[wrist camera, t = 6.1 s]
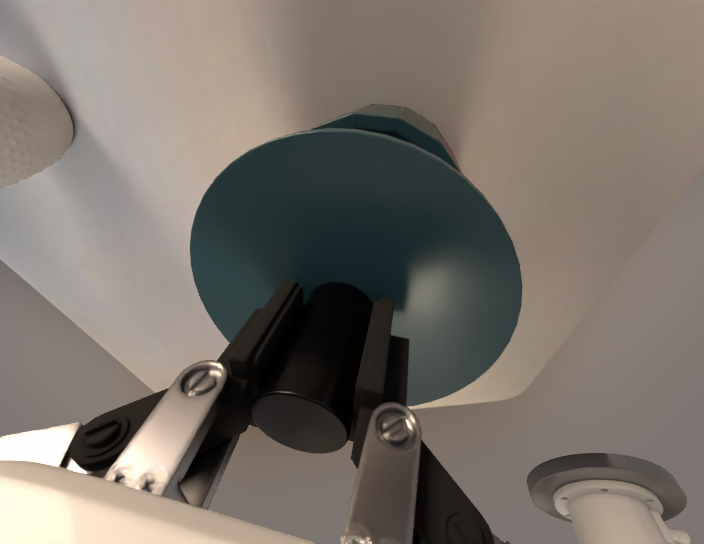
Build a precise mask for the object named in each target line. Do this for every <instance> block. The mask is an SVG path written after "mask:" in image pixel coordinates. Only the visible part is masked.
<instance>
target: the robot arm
mask: <svg viewBox="0 0 704 544" xmlns="http://www.w3.org/2000/svg"><path fill="white" fill-rule="evenodd" d="M394 304H395V300H390V299H385V298H381V300H380V301H374V306H373V310H372V315H371V319H370V323H369V328H368V332H367V337H366V341H365V346H364V350H363V355H362V359H361V364H360V368H359V373H358V377H357V382H356V388H355V394H354V401H353V408H352V412H353V419H352V424H351V429H350V434H349V438H348V440H350V441H354V443H353V450H352V456H351V459H352V461H353V462H354V464H355V466H356V468H357V469H358V470H357V474H356V478H355V482H354V486H353V491H352V494H351V498H350V502H349V507H348V511H347V514H346V519H345V523H344V527H343V531H342V535H341V539H340V543H339V544H510V543H509V542H508V541H507V542H506V543H504V542H503V541H501V540H500V539H499V538H498V537H496V536H495V535H494V534H493V533H492V532H491V530H490V528H489V526H488V524H487V523H486V521H485V519H484V518H483V516H482V515H481V514H480V512H479V511H478V510H477V509H476V507H475V506H474V505H473V504H472V503H471V501H470V500H469V499H468V497H467V496H466V495H465V494H464V492H463V491H462V490H461V489H460V488H459V486H458V485H457V484H456V482H455V481H454V480H453V479H452V477H451V476H450V475H449V474H448V472H447V471H446V470H445V469H444V467H443V466H442V465H441V464H440V462H439V461H438V460H437V459H436V457H435V456H434V455H433V454H432V452H431V451H430V450H429V449H428V447H427V446H426V445H425V444H424V442H423V441H422V440H421V435H422V433H421V426H420V423H419V420H418V418H417V417H416V415H415V414H414V413H413V412H412V411H411V410H410V409H409V408H408V407H406V401H407V381H408V361H409V339H408V338H403V337H398V336H393V335H391V327H392V319H393V311H394ZM302 309H303V287H301V286H299V283H298V282H295V281H289V280H283V281H282V282H281V284H280V285H279V287H278V288H277V289H276V291H275V292H274V294H273V295H272V296H271V298H270V299H269V301H268V302H267V303H266V305H265V306H264V307H263V309H261V308H258V309H256V310H255V311H254V312H253V313H252V315H251V316H250V317H249V319H248V320H247V321H246V323H245V324H244V325H243V327H242V328H241V329H240V331H239V332H238V333H237V335H236V336H235V337H234V339H233V340H232V341H231V343H230V344H229V345H228V347H227V348H226V349H225V351H224V352H223V353H222V355H221V356H220V357H219V359H218V360H217V361H214V360H205V361H200V362H197V363H195V364H192V365H190V366H189V367H187V368H186V369H184V370H183V371H182V372H181V374H180V375H179V376H178V377H177V378H176V380H175V381H174V382H173V384H172V385H171V387H170V388H168V389H165V390H163V391H160V392H158V393H155V394H153V395H150V396H147V397H145V398H142V399H140V400H137V401H135V402H132V403H129V404H127V405H124V406H122V407H119V408H117V409H114V410H112V411H109V412H106V413H104V414H102V415H100V416H98V417H96V418H94V419H93V420H91V421H90V422H89V423H87V424H86V425H82V423H80V422H79V423H73V424H68V425H63V426H57V427H52V428H47V429H42V430H36V431H31V432H25V433H20V434H14V435H9V436H4V437H0V544H317V543H314V542H311V541H308V540H304V539H301V538H298V537H295V536H291V535H288V534H285V533H282V532H279V531H275V530H272V529H269V528H265V527H262V526H259V525H255V524H252V523H249V522H246V521H242V520H239V519H236V518H232V517H229V516H226V515H223V514H219V513H216V512H213V511H209V510H208V508H209V506H210V504H211V501H212V499H213V497H214V494H215V492H216V490H217V487H218V485H219V482H220V481H221V478H222V476H223V474H224V471H225V469H226V467H227V464H228V462H229V460H230V457H231V455H232V453H233V451H234V448H235V446H236V444H237V441H238V439H239V436H240V434H241V433H243V432H245V431H246V430H247V427H248V426H249V425H251V426H255V427H258V426H257V425H256V424H255V422H254V420H253V418H252V416H251V404H252V402H253V400H254V398H255V396H256V394H257V392H258V390H259V389H260V387H261V385H262V383H263V381H264V379H265V377H266V376H267V374H268V372H269V370H270V368H271V366H272V364H273V363H274V361H275V359H276V357H277V355H278V353H279V351H280V350H281V348H282V346H283V344H284V342H285V340H286V338H287V337H288V335H289V333H290V331H291V329H292V327H293V325H294V324H295V322H296V320H297V318H298V316H299V314H300V312H301V311H302ZM553 502H554V505H555V508H556V510H557V511H558V512H559V513H560V514H561V515H563V516H565V517H566V518H568V519H570V520H572V523H573V525H574V528H575V531H576V534H577V537H578V540H579V543H580V544H690V538H689V536H688V534H687V533H686V532H684V531H681V530H677V529H673V528H668V527H667V526H666V525H665V524H664V521H663V520H662V518H661V515H662V513H663V506H662V504H661V503H660V501H659V499H658V498H657V496H656V495H655V494H654V493H652V492H651V491H649V490H647V489H645V488H643V487H641V486H638V485H635V484H632V483H627V482H623V481H616V480H583V481H578V482H573V483H570V484H566V485H564V486H562V487H560V488H559V489H557V490H556V491H555V493H554V494H553Z"/></svg>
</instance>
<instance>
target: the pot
mask: <svg viewBox="0 0 704 544" xmlns="http://www.w3.org/2000/svg"><path fill="white" fill-rule="evenodd" d="M325 128H341V129H359V130H364V131H370V132H375V133H380V134H385V135H389V136H391V137H394V138H397V139H400V140H403V141H406V142H409V143H412V144H414V145H416V146H418V147H420V148H422V149H424V150H426V151H428V152H430V153H432V154H434V155H436V156H437V157H439V158H441V159H442V160H444V161H445V162H446V163H448V164H449V165H451V166H452V167H453V168H455V169H456V170H458V171H459V172H460V173H462V172H461V169H460V167H459V165H458V163H457V161H456V159H455V157H454V155H453V153H452V151H451V149H450V148H449V146H448V145H447V143H446V141H445V140H444V138H443V137H442V135H441V133H440V132H439V130H438V129H437V127H436V126H435V125H434V124H433V123H431V122H430V121H428V120H426V119H425V118H424V117H422V116H421V115H419V114H417V113H415V112H414V111H412V110H410V109H409V108H406V107H399V106H393V105H380V104H372V105H369V106H367V107H364V108H361V109H358V110H356V111H353V112H350V113H347V114H344V115H342V116H340V117H337V118H335V119H333V120H330V121H328V122H325V123H323V124H321V125H318V126H316V127H314V128H312V129H311V130H316V129H325Z"/></svg>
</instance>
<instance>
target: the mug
mask: <svg viewBox="0 0 704 544" xmlns="http://www.w3.org/2000/svg"><path fill="white" fill-rule="evenodd" d="M72 139H73V124H72V120H71V117H70V115H69V112H68V110H67V108H66V107H65V105H64V103H63V102H62V100H61V99H60V97H59V96H58V95H57V93H56V92H55V91H54V90H53V89H52V88H51V87H50V86H49V85H48V84H47V83H46V82H45V81H44V80H42V79H41V78H40V77H39V76H37V75H36V74H34V73H33V72H31V71H29V70H28V69H26V68H24V67H22V66H20V65H18V64H16V63H14V62H12V61H10V60H8V59H7V58H4V57H2V56H0V188H1V187H4V186H6V185H11V184H14V183H17V182H18V181H20V180H22V179H26V178H28V177H31V176H32V175H33V174H35V173H38V172H41V171H42V170H43V169H45V168H46V167H49V166H50V165H52V164H53V163H54V162H55V161H57V160H58V159H60V157H61V156H62V155H63V154H64V153H65V152H66V150H67V149H68V147H69V146H70V144H71V142H72Z"/></svg>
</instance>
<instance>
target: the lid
mask: <svg viewBox="0 0 704 544" xmlns="http://www.w3.org/2000/svg"><path fill="white" fill-rule="evenodd" d="M190 257H191V267H192V272H193V277H194V281H195V284H196V287H197V290H198V293H199V296H200V298H201V300H202V302H203V304H204V306H205V308H206V311H207V312H208V314H209V315H210V317H211V319H212V320H213V322H214V324H215V325H216V326H217V328H218V329H219V330H220V332H221V333H222V334H223V335H224V337H225V338H226V339H227V340H228V341H229V342H230V343H231V341H232V340H233V339H234V337H235V336H236V335H237V333H238V332H239V331H240V329H241V328H242V327H243V325H244V324H245V323H246V321H247V320H248V319H249V317H250V316H251V315H252V313H253V312H254V311H255V310H256V309H258V308H261V309H263V307H264V306H265V305H266V303H267V302H268V301H269V299H270V298H271V296H272V295H273V294H274V292H275V291H276V289H277V288H278V287H279V285H280V284H281V282H282V281H283V280H289V281H295V282H298V283H299V286H301V287H303V309H302V311H301V312H300V314H299V316H298V318H297V320H296V322H295V324H294V325H293V327H292V329H291V331H290V333H289V335H288V337H287V338H286V340H285V342H284V344H283V346H282V348H281V350H280V351H279V353H278V355H277V357H276V359H275V361H274V363H273V364H272V366H271V368H270V370H269V372H268V374H267V376H266V377H265V379H264V381H263V383H262V385H261V387H260V389H259V390H258V392H257V394H256V396H255V398H254V400H253V402H252V404H251V416H252V418H253V420H254V422H255V424H256V425H257V426H258V427H259V429H261V430H262V431H263V432H264V433H265V434H266V435H267V436H269V437H270V438H272V439H273V440H275V441H277V442H279V443H281V444H283V445H285V446H287V447H290V448H293V449H296V450H300V451H304V452H309V453H330V452H334V451H337V450H339V449H341V448H342V447H343V446H344V445H345V444H346V443H347V441H348V438H349V434H350V429H351V424H352V419H353V412H352V408H353V401H354V394H355V388H356V382H357V377H358V373H359V368H360V364H361V359H362V355H363V350H364V346H365V341H366V337H367V332H368V328H369V323H370V319H371V315H372V310H373V306H374V301H380V300H381V298H385V299H390V300H395V304H394V311H393V319H392V327H391V335H393V336H398V337H403V338H408V339H409V361H408V381H407V401H406V407H407V406H414V405H419V404H423V403H427V402H431V401H434V400H437V399H440V398H443V397H446V396H448V395H450V394H452V393H454V392H456V391H458V390H460V389H462V388H464V387H465V386H467V385H468V384H470V383H472V382H473V381H475V380H476V379H477V378H478V377H480V376H481V375H482V374H483V373H484V372H486V371H487V370H488V369H489V368H490V367H491V366H492V365H493V363H494V362H495V361H496V360H497V359H498V358H499V357H500V355H501V354H502V352H503V351H504V349H505V348H506V346H507V345H508V343H509V341H510V339H511V337H512V334H513V332H514V330H515V327H516V325H517V321H518V317H519V313H520V309H521V299H522V280H521V272H520V264H519V261H518V258H517V255H516V252H515V248H514V245H513V242H512V240H511V238H510V236H509V234H508V232H507V230H506V228H505V226H504V225H503V223H502V221H501V219H500V217H499V216H498V214H497V213H496V211H495V210H494V209H493V207H492V206H491V204H490V203H489V202H488V200H487V199H486V198H485V196H484V195H483V194H482V193H481V192H480V191H479V190H478V189H477V188H476V187H475V186H474V185H473V184H472V183H471V182H470V181H469V180H468V179H467V178H466V177H465V176H464V175H463V174H462V173H460V172H459V171H458V170H456V169H455V168H453V167H452V166H451V165H449V164H448V163H446V162H445V161H444V160H442V159H441V158H439V157H437V156H436V155H434V154H432V153H430V152H428V151H426V150H424V149H422V148H420V147H418V146H416V145H414V144H412V143H409V142H406V141H403V140H400V139H397V138H394V137H391V136H389V135H385V134H380V133H375V132H370V131H364V130H359V129H341V128H325V129H316V130H307V131H301V132H297V133H293V134H290V135H286V136H282V137H279V138H276V139H273V140H271V141H268V142H266V143H264V144H262V145H260V146H257V147H255V148H253V149H251V150H249V151H248V152H246V153H245V154H243V155H242V156H240V157H239V158H237V159H236V160H235V161H233V162H232V163H230V164H229V165H228V166H227V167H226V168H225V169H224V170H223V171H222V172H221V173H220V174H219V175H218V176H217V177H216V178H215V180H214V181H213V183H212V184H211V185H210V187H209V188H208V190H207V191H206V193H205V194H204V196H203V198H202V200H201V203H200V205H199V207H198V209H197V211H196V215H195V218H194V222H193V226H192V230H191V241H190Z"/></svg>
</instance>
